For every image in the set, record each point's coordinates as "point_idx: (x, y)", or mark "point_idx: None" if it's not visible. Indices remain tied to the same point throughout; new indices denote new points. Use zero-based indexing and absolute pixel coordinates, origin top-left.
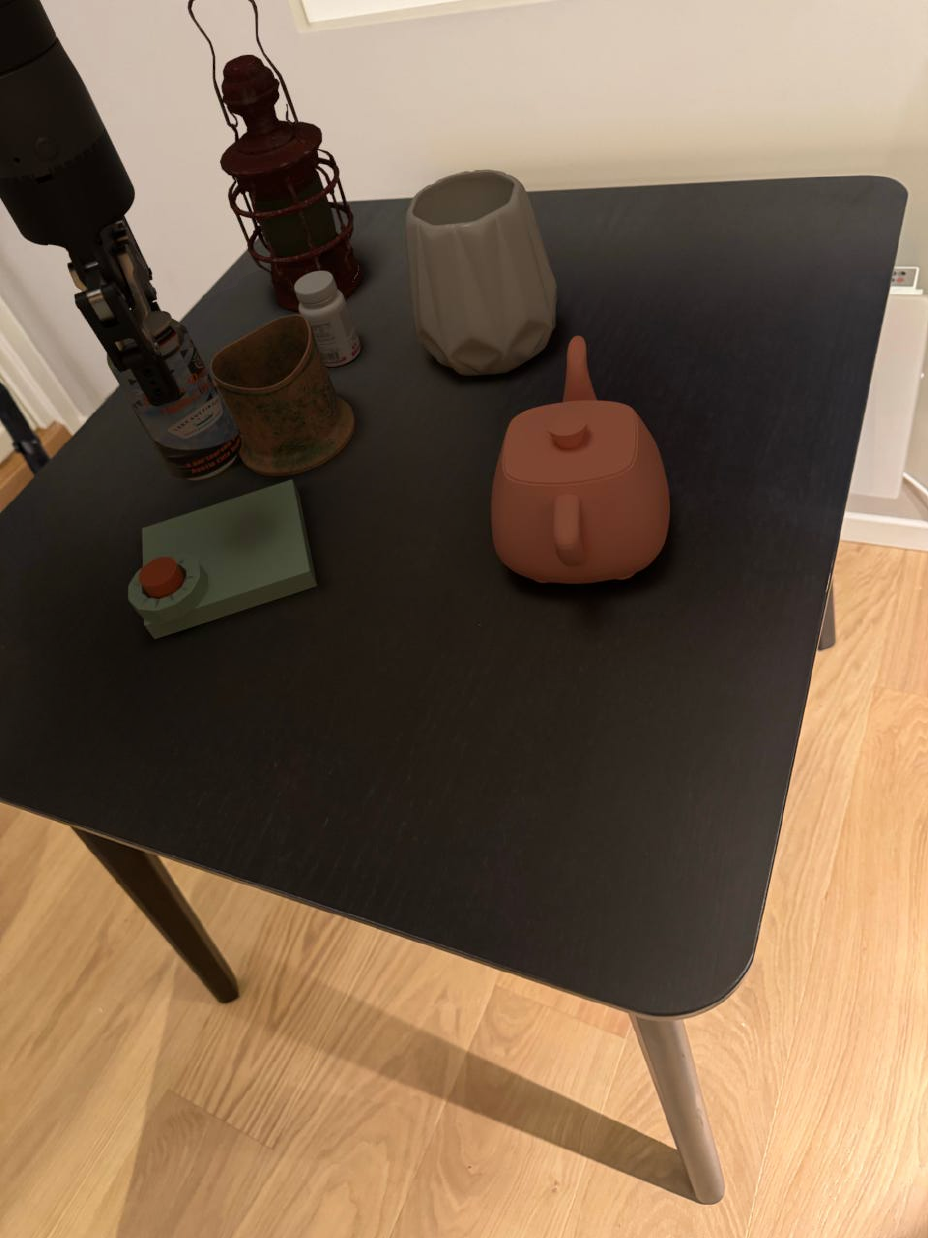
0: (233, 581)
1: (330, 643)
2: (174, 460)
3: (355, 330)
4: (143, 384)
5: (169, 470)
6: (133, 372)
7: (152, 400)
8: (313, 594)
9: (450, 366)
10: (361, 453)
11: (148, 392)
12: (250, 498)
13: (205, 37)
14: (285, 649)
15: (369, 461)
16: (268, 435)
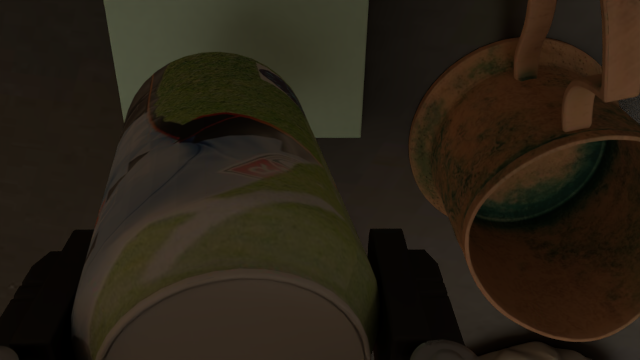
0: (141, 12)
1: (14, 123)
2: (128, 116)
3: None
4: (8, 307)
5: (165, 69)
6: (23, 318)
7: (40, 261)
8: (120, 113)
9: (497, 354)
10: (400, 219)
11: (22, 285)
12: (348, 63)
13: None
14: (14, 59)
15: (375, 226)
16: (455, 139)
